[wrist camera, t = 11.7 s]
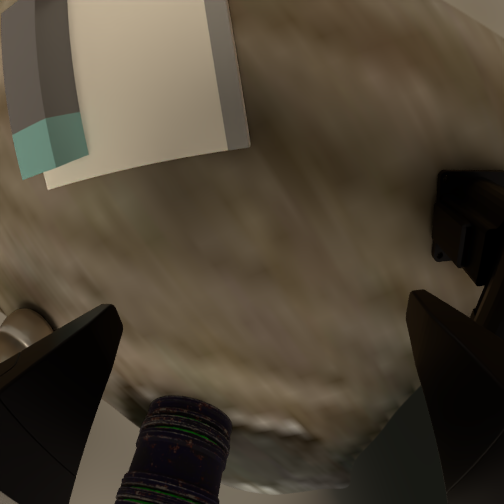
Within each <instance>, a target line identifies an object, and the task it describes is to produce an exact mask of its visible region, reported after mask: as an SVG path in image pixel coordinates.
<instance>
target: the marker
mask: <svg viewBox="0 0 504 504" xmlns="http://www.w3.org/2000/svg"><path fill="white" fill-rule="evenodd" d="M1 36H2V60H3V73H4V83H5V92H6V100H7V107H8V113H9V119H10V125H11V131H12V136H13V141H14V146H15V150H16V155H17V159H18V163H19V167H20V171H21V175H22V179H23V180H24V179H27V178H29V177H32V176H35V175H37V174H40V173H43V172H46V171H49V170H52V169H54V168H57V167H60V166H62V165H64V164H67V163H69V162H72V161H74V160H76V159H79V158H82V157H84V156H87V155H89V153H88V149H87V144H86V140H85V135H84V130H83V125H82V120H81V115H80V109H79V103H78V97H77V91H76V85H75V78H74V71H73V63H72V54H71V45H70V34H69V21H68V3H67V0H18V1H17V2H16V3H14V4H13V5H12V6H10V7H9V8H8V9H6V10H5V11H4V12H3V13H2V15H1Z"/></svg>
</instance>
